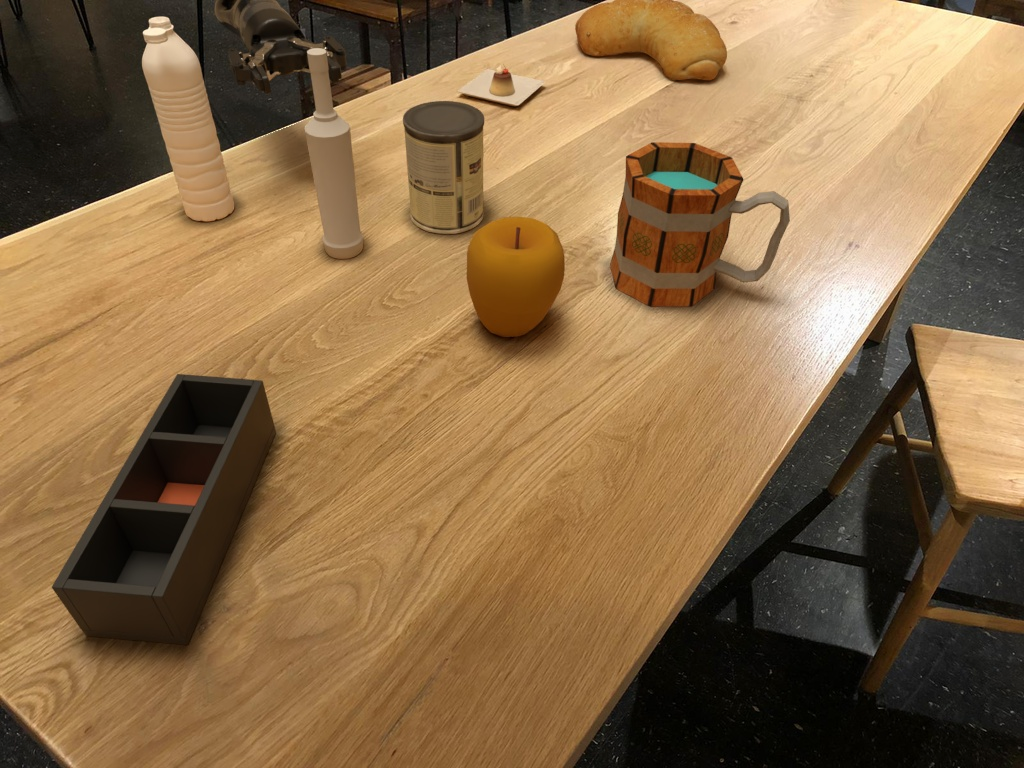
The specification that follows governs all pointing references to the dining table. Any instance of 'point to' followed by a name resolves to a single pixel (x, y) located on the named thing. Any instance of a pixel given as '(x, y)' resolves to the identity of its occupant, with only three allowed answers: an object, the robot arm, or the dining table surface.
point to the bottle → (332, 166)
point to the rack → (170, 513)
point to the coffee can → (445, 166)
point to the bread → (655, 36)
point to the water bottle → (186, 122)
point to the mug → (682, 224)
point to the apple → (514, 274)
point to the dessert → (501, 87)
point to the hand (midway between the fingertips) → (301, 81)
